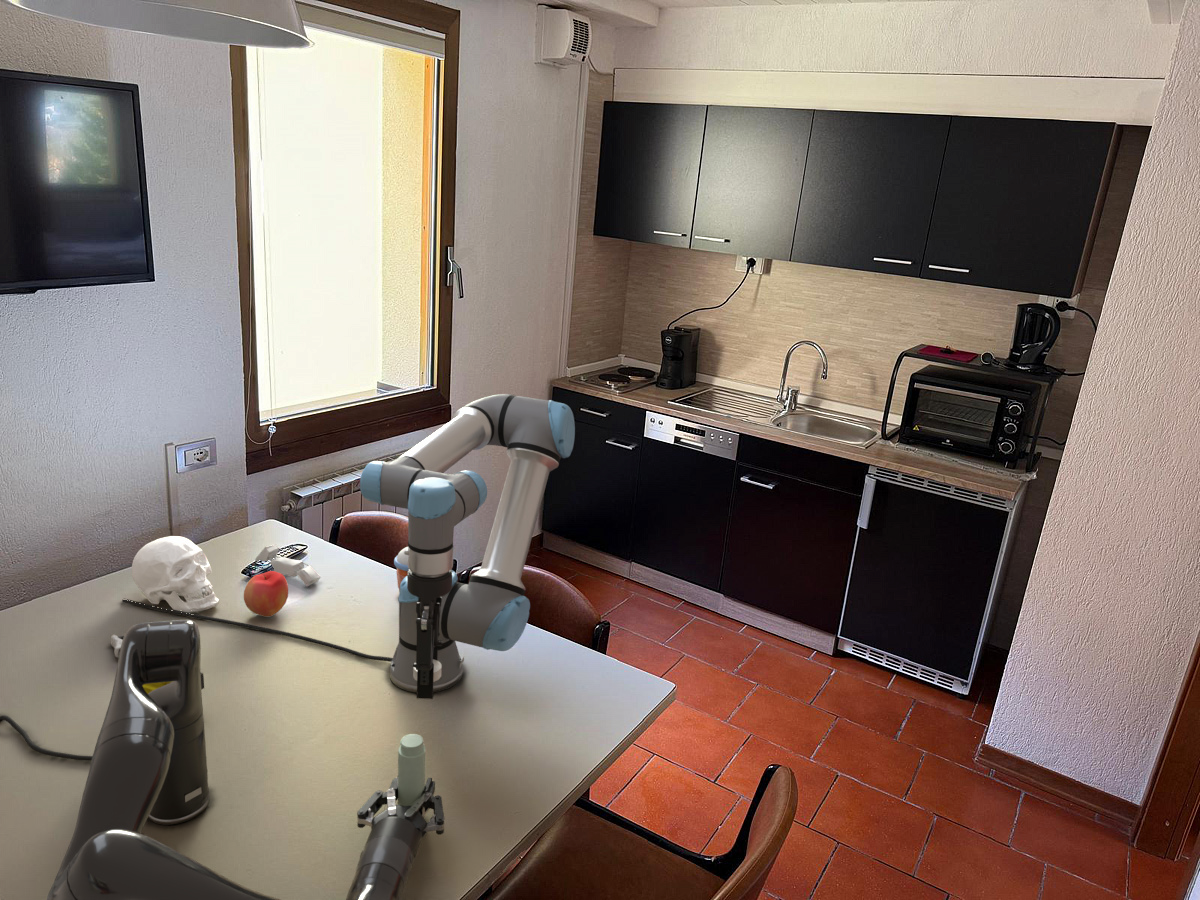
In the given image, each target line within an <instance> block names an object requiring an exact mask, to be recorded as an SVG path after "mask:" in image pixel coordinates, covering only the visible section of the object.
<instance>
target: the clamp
mask: <svg viewBox="0 0 1200 900" xmlns="http://www.w3.org/2000/svg"><path fill="white" fill-rule="evenodd" d="M280 549H281V547H279V546H278V545H277V544H272V545H266V546H264V547H263V549H262V550H261V551H260V552H259V554H258V555H257V556H256V557H255V559H254V562H255V563H256V561H259V560H262V561H268V560H271V562H270V563H269V564H271V565H272V566H273V568H274V571H275V572H278V573H281V574H282V575H283V576H288V577H292V578H296V577H298V578H299V579H300V580H301V582H303V584H304V585H305V587H309V586H312V585H314V584H316V583H318V582H319V580H320V579H321V578H322V577H321V575H320V574H319V573H318V572H317V570H315V569H314V568H313V566H312V565H310V564H309V565H308V564H307V563H305V562H304V561H303V560H301V559H300V560H299V559H292V558H289V557H285V556H278V553H279V551H280ZM273 558H274V559H273ZM272 559H273V560H272ZM305 566H306V567H305ZM270 571H271V570H270Z"/></svg>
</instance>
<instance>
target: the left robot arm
mask: <svg viewBox="0 0 1200 900" xmlns="http://www.w3.org/2000/svg"><path fill="white" fill-rule="evenodd" d="M200 634H201V633H200V630H199V626H198V625H197V623H196V622H195V621H194V620H192V619H177V620H175V619H174V620H162V621H160V620H159V621H149V622H141V623H140V622H139V623H137V624H134V625H132V626H130V627H129V628H128V629H127V630H126V632H125V634H124V635H123V636H124V638H123V641H122V644H121V648H120V653H119V658H117V664H116V670H115V675H114V680H113V681H114V682H113V686H112V691H111V696H110V700H109V703H108V705H107V710H106V712H105V715H104V719H103V722H102V725H101V728H100V731H99V733H98V736H97V740H96V744H95V747H94V750H93V753H92V755H80V754H78V755H77V754H73V753H66V752H59V751H53V750H49V749H46V748H43V747H41V746H39V745H37V744H36V743H34V741H32V739H31V738H30V737H29V735H28V733H27V732H26V731H25V729H23V728H22V727H21V726H20V725H19V724H18V723H17V722H15V720H14V719H12V718H11V717H10V716H8V715H4V714H3V715H0V722H1V721H3V720H4V722H5V721H6V722H7V723H8V724H9V725H10V726H11V727H12V728H13V729H14V730H15V731H16V732H17V733H18V734H20V736H21V737H22V739H23V740H24V741H25V743H26V744H27V746H28V747H29V748H31V749H32V750H33V751H34V752H37V753H40V754H43V755H46V756H51V757H55V758H62V759H68V760H75V761H90V765H89V770H88V775H87V778H86V782H85V786H84V789H83V792H82V796H81V802H80V806H79V810H78V815H77V819H76V825H75V828H74V832H73V835H72V837H71V840H70V842H69V845H68V848H67V850H66V852H65V854H64V857H63V859H62V862H61V864H60V867H59V869H58V871H57V874H56V876H55V878H54V880H53V882H52V885H51V887H50V889H49V891H48V894H47V897H46V900H281V899H280V898H277V897H274V896H270V895H267V894H265V893H261V892H259V891H256V890H253V889H251V888H248V887H246V886H243V885H242V884H239V883H237V882H235V881H234V880H232V879H229V878H228V877H226V876H224V875H222V874H220V873H219V872H217V871H215V870H213V869H211V868H209V867H208V866H206V865H204V864H202V863H201V862H198V861H196V860H195V859H193V858H190V857H189V856H187V855H185V854H184V853H182V852H180V851H178V850H176V849H175V848H172V847H170V846H168V845H167V844H165V843H163V842H161V841H159V840H158V839H155V838H153V837H150V836H148V835H147V834H144V833H142V831H143V828H144V826H145V824H146V823H147V820H149V821H151V822H152V823H154V824H158V825H163V826H172V825H178V824H182V823H185V822H187V821H190V820H193V819H194V818H196V817H197V816H199V815H201V813H203V812H204V811H205V810H206V809H207V808H208V805H209V803H210V800H211V799H210V798H211V796H210V787H209V777H208V763H207V748H206V746H207V745H206V733H205V722H204V721H205V720H204V719H205V718H204V706H203V693H202V690H201V673H202V672H201V649H202V648H201V647H202V645H201V635H200ZM171 681H172V682H171ZM161 682H170V683H168V684H166V685H164V686H161V687H159V688H157V689H155V690H153V691H151V692H150V693H147V692H146V691H145V689H144V688H143V686H142V685H144V684H150V683H161ZM435 792H436V781H435V780H433V777H427V779H426V781H425V788H424V790H423V795H422V796H421V798H420V799H417V800H416V801H415V802H414V804H413V805H412V806H403V805H398V803H396V801H397V802H398V776H397V777H394V778H393V779H392V781H391V783H390V784H389V787H388V789H387V790H386V791H382V790H375V792H374V793H373V794H372V795H371V796H370V797H369V798H368V799H367V800H366V802H365V803H364V804H363V805H362V806H361V807H360V808H359V809H358V810H357V812H356V818H357V819H356V820H357V821H356V823H357V824H356V825H357V828H359V829H363V828H365V827H367V826H368V827H370V832H369V834H368V837H367V840H366V842H365V844H364V847H363V849H362V850H361V853H360V855H359V860H358V862H357V865H356V871H355V874H354V877H353V880H352V882H351V885H350V887H349V889H348V892H347V895H346V898H345V900H400V899H401V897H402V893H403V890H404V888H405V886H406V884H407V883H408V880H409V878H410V875H411V871H412V868H413V865H414V862H415V859H416V855H417V852H418V849H419V847H420V843H421V840H422V838H423V837H424V836H425V835H426V834H427V833H429V832H435V833H436V834H437V835H439V836H440V835H443V834H444V833H445V813H444V806H443V799H442V796H441V795H439V794H438V795H435ZM385 805H386V809H384V810H383V811H381V812H379V811H380V809H382V807H383V806H385ZM430 809H431V810H432V811H433V814H432V817H430V819H429V821H428V822H427V820H426V819H425V817H426V814H427V813H428V812H429V811H430ZM378 812H379V814H377V813H378ZM376 814H377V815H376Z"/></svg>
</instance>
